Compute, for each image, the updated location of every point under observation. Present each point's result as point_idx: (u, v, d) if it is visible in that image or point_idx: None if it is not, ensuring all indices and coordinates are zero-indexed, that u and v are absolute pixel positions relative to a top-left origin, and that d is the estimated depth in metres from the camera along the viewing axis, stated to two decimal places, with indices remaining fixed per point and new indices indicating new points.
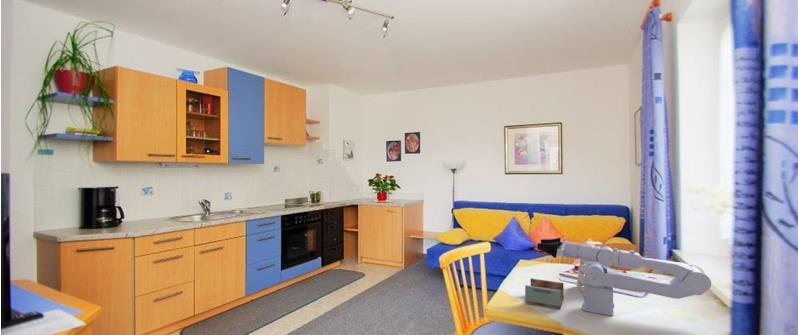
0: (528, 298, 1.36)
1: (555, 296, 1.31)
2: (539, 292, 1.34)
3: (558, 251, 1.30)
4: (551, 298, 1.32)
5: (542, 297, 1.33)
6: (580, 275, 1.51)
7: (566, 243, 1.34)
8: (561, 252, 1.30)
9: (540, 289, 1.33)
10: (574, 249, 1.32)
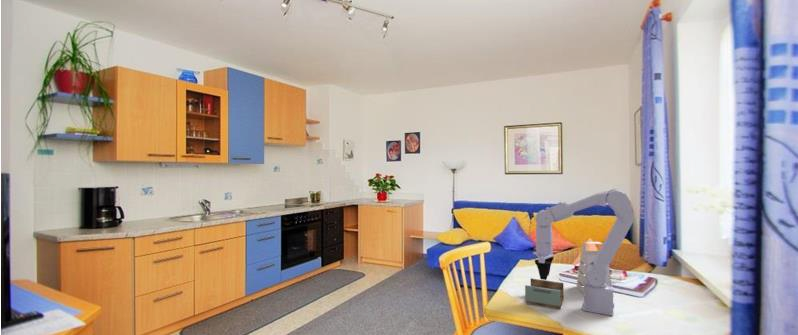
0: (528, 298, 1.36)
1: (555, 296, 1.31)
2: (539, 292, 1.34)
3: (540, 261, 1.32)
4: (551, 298, 1.32)
5: (542, 297, 1.33)
6: (580, 275, 1.51)
7: (537, 252, 1.38)
8: (540, 259, 1.32)
9: (540, 289, 1.33)
10: (540, 245, 1.36)
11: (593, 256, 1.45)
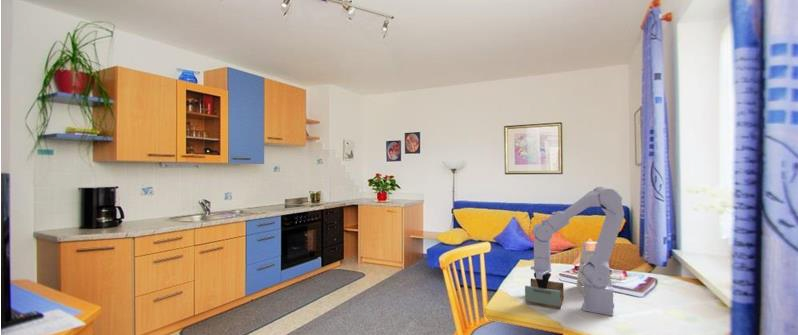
0: (528, 298, 1.36)
1: (555, 296, 1.31)
2: (539, 292, 1.33)
3: (538, 277, 1.28)
4: (551, 298, 1.31)
5: (542, 297, 1.33)
6: (580, 275, 1.51)
7: (534, 267, 1.34)
8: (538, 274, 1.28)
9: (540, 290, 1.33)
10: (538, 260, 1.32)
11: None
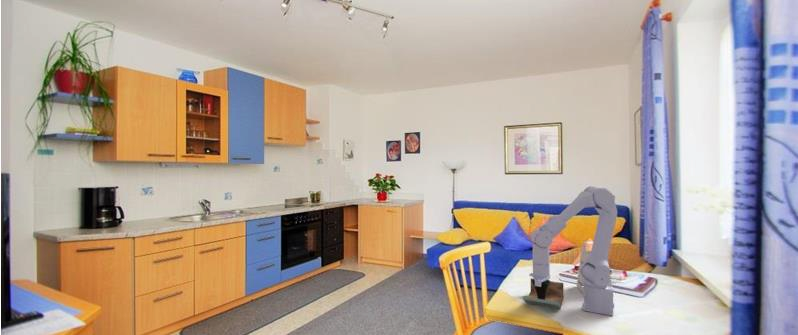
0: (527, 302, 1.35)
1: (554, 305, 1.29)
2: (538, 302, 1.31)
3: (536, 285, 1.25)
4: (550, 305, 1.30)
5: (541, 304, 1.32)
6: (580, 275, 1.51)
7: (533, 274, 1.31)
8: (537, 282, 1.25)
9: (538, 302, 1.30)
10: (537, 267, 1.30)
11: None
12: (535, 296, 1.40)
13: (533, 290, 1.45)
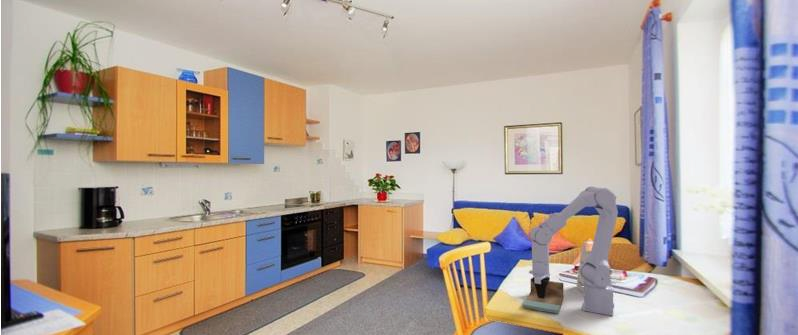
0: None
1: None
2: None
3: (536, 282, 1.25)
4: None
5: None
6: (580, 275, 1.51)
7: (533, 271, 1.30)
8: (537, 279, 1.24)
9: (538, 309, 1.30)
10: (536, 264, 1.29)
11: None
12: (535, 296, 1.40)
13: (533, 290, 1.45)
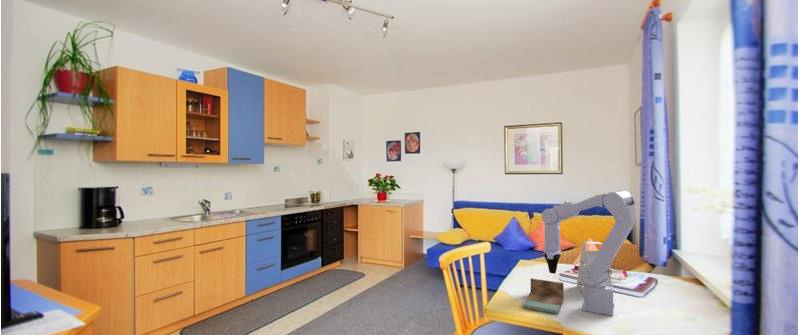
0: None
1: None
2: None
3: (549, 257, 1.37)
4: None
5: None
6: (580, 275, 1.51)
7: (545, 248, 1.43)
8: (549, 255, 1.37)
9: (538, 309, 1.30)
10: (548, 242, 1.41)
11: (593, 256, 1.45)
12: (535, 296, 1.40)
13: (533, 290, 1.45)
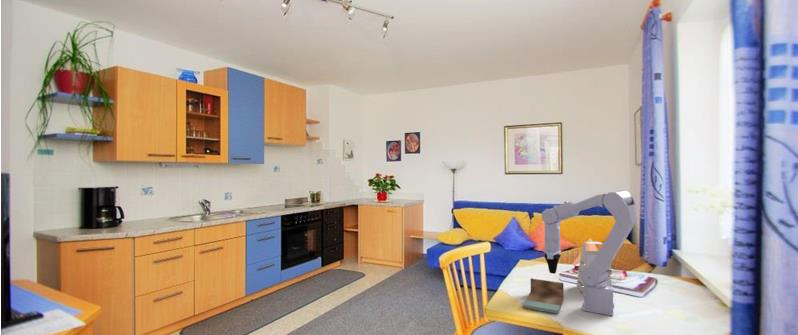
0: None
1: None
2: None
3: (549, 257, 1.37)
4: None
5: None
6: (580, 275, 1.51)
7: (545, 248, 1.43)
8: (549, 255, 1.37)
9: (538, 309, 1.30)
10: (548, 242, 1.41)
11: (593, 256, 1.45)
12: (535, 296, 1.40)
13: (533, 290, 1.45)
